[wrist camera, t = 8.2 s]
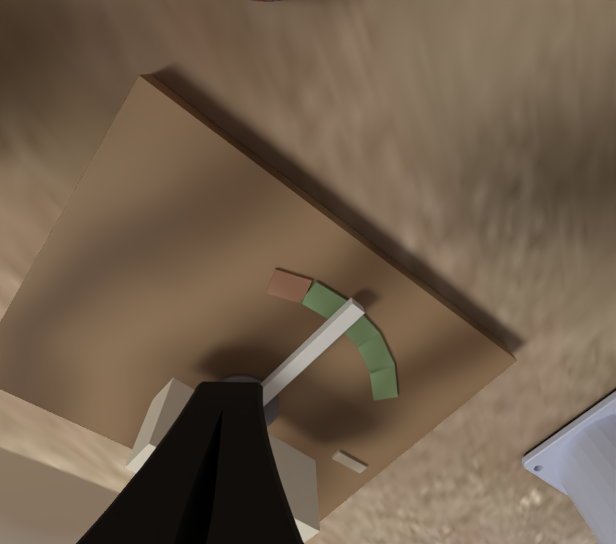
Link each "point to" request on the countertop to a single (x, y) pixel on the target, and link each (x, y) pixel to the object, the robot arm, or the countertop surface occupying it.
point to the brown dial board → (231, 302)
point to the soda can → (266, 0)
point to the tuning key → (290, 462)
